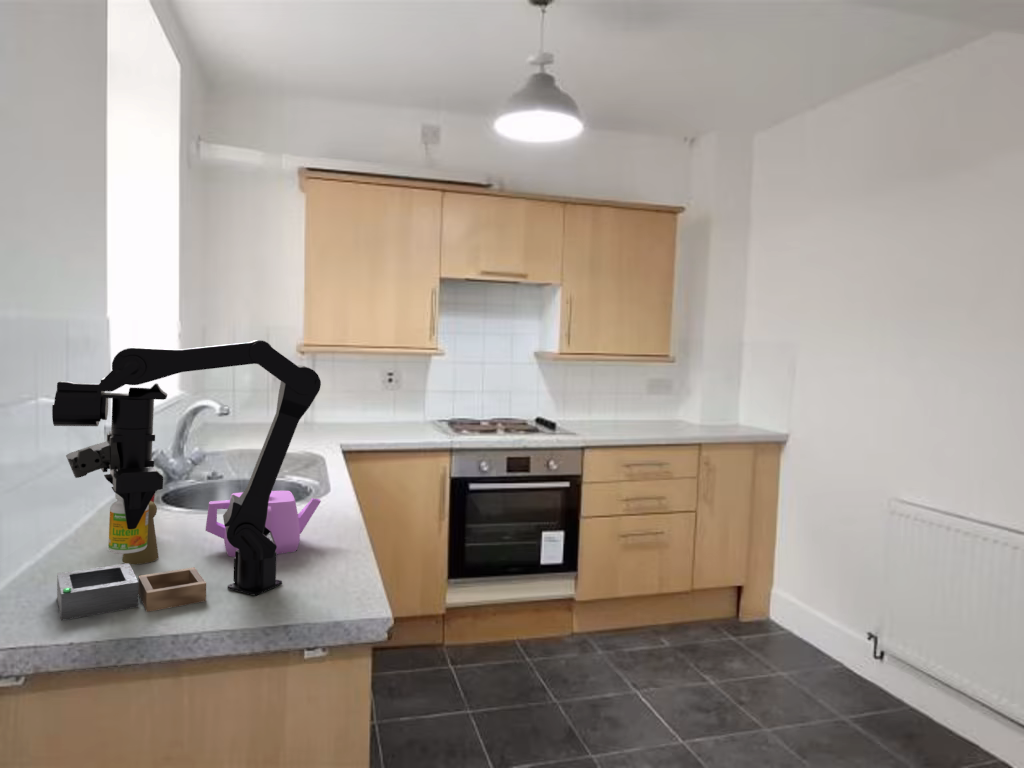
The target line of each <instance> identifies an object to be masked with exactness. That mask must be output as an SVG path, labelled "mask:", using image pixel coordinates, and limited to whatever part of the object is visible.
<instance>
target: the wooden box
mask: <svg viewBox="0 0 1024 768" xmlns="http://www.w3.org/2000/svg"><path fill="white" fill-rule="evenodd" d="M137 578H138V579H137V580H138V598H139V599H140V601H141V604H143V607H144V609H145V611H146V613H148V612H155V611H159V610H160V611H161V610H164V609H166V610H167V609H170V608H176V607H181V606H187V605H188V606H189V605H192V604H196V603H203V602H207V582H206V581H205V579H204V578H203V576H202V575H201V574H200V573H199V571H198V570H197V568H196V567H187V568H180V569H175V570H168V571H161V572H156V573H148V574H141V575H138V577H137Z"/></svg>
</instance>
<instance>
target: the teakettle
mask: <svg viewBox="0 0 1024 768" xmlns="http://www.w3.org/2000/svg"><path fill="white" fill-rule="evenodd" d="M243 492H244V491H243ZM243 492H233V493H232V494H231V495H235V496H237V497H240V496H241V495H242V493H243ZM230 499H231V496H230ZM230 499H227V500H226V499H225V500H212V501H209V502H208V510H207V516H206V523H205V532H208V533H209V534H211V535H214V536H216V537H218V538H221V539H223V542H224V547H225V551H226V554H227V556H228V557H230V558H235V551H237V550H239V549H238V548H235V547H233V546H232V545H231V544H230V543H229V541H228V539H227V534H226V528H225V526H224V523H221V522H218V519H217V518H218V510H228V508H229V505H230ZM321 502H322V500H321V499H320V498H313V497H311V498H310V500H309V501H308V502H307V504H306V505H305V506H304V507H303V508H302V509H301V510H300V512H298V508H297V504H296V503H297V502H296V499H295V496H294V494H293V493H292V492H291V491H290V490H272V491H271V494H270V497H269V502H268V511H267V518H266V524H265V527H266V528H267V529H269V530H270V531H271V532H272V535H273V538H274V541H275V543H276V546H277V548H276V550H275V552H277V553H276V555H280V554H281V553H282V554H288V553H287V552H290V553H295V552H297V551H296V550H298V548H299V545H300V539H301V538H300V537H301V534H302V532H303V531H304V530H305V528H306V526H307V525H308V523H309V521H310V520H311V518H312V516H313V515H314V513H315V511H316V510H317V508H318V507H319V506H320V503H321ZM294 551H295V552H294Z"/></svg>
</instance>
